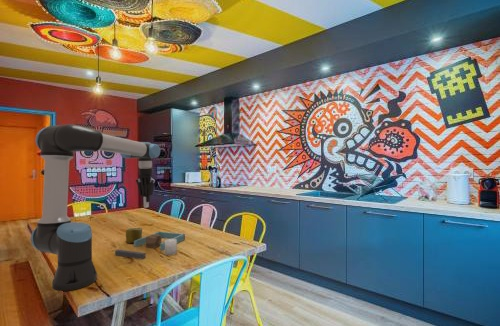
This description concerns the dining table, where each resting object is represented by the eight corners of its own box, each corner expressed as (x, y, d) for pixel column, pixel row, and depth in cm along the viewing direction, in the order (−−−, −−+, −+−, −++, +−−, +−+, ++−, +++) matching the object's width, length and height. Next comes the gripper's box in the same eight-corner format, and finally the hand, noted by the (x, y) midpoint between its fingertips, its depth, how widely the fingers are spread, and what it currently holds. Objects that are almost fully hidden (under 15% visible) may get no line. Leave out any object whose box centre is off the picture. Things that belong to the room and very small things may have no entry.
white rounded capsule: (172, 255, 139) (171, 242, 139) (162, 254, 141) (162, 241, 141) (178, 252, 145) (178, 239, 145) (169, 250, 147) (169, 238, 147)
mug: (137, 241, 158) (134, 225, 160) (122, 246, 160) (120, 229, 162) (150, 240, 169) (147, 224, 172) (136, 244, 171) (134, 228, 174)
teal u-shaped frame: (161, 250, 147) (161, 244, 147) (134, 247, 154) (134, 240, 154) (184, 239, 168) (184, 233, 168) (159, 236, 175) (159, 231, 175)
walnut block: (154, 248, 152) (154, 237, 152) (145, 247, 154) (145, 236, 154) (161, 245, 157) (161, 235, 157) (153, 244, 159) (152, 234, 159)
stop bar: (142, 259, 135) (142, 254, 135) (115, 255, 141) (115, 250, 141) (145, 257, 136) (145, 253, 136) (118, 253, 143) (118, 249, 143)
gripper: (158, 167, 162) (159, 206, 163) (141, 167, 167) (141, 205, 167) (150, 168, 155) (151, 208, 156) (132, 168, 160) (133, 207, 160)
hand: (146, 207), depth 161 cm, fingers closed
